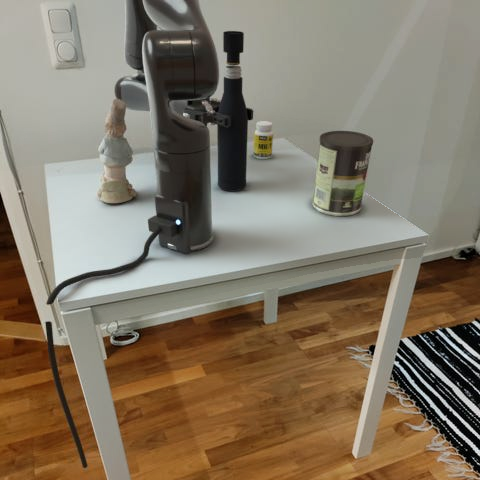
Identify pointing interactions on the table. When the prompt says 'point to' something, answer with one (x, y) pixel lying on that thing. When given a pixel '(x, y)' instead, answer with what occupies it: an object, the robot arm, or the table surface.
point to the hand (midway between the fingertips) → (241, 118)
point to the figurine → (115, 157)
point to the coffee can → (341, 172)
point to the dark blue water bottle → (233, 119)
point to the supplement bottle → (263, 140)
